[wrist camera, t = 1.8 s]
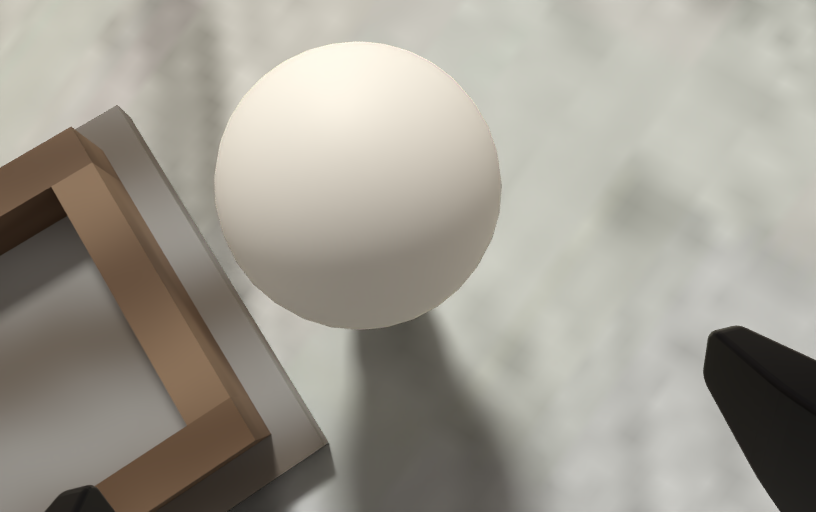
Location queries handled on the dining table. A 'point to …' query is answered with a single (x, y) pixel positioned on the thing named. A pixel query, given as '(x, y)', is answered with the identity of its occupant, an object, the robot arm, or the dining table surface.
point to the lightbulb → (357, 185)
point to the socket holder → (128, 341)
